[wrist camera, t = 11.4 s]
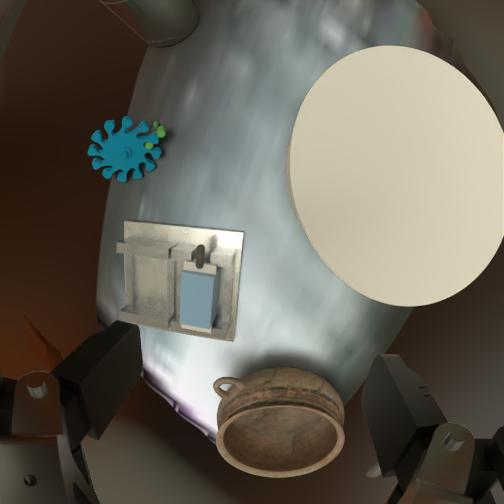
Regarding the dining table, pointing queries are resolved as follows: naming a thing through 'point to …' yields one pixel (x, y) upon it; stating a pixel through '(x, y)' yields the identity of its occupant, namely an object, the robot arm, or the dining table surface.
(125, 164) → the gear
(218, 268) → the block
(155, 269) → the plate
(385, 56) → the plate stack
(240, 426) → the cooking pot
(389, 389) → the robot arm
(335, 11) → the dining table surface
